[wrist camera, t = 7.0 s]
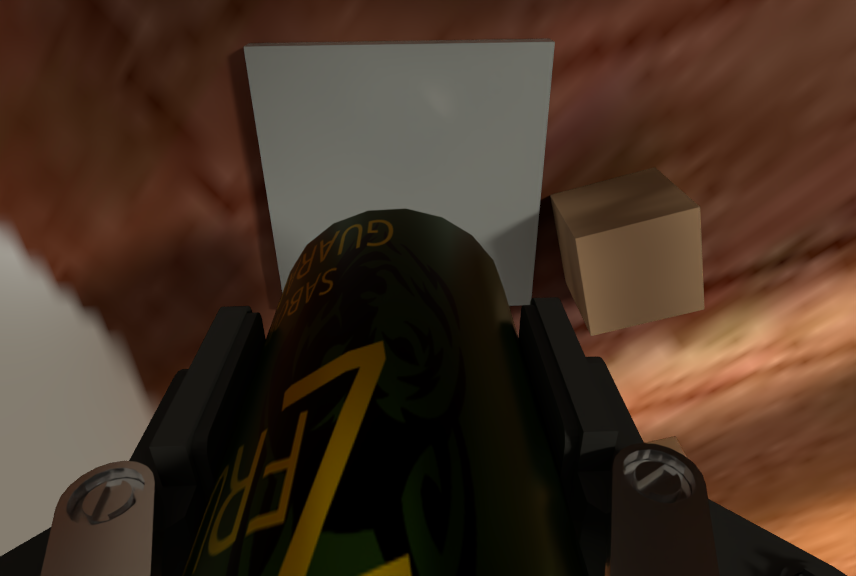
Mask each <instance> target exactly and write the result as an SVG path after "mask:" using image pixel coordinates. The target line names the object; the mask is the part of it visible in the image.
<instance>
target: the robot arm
mask: <svg viewBox="0 0 856 576" xmlns="http://www.w3.org/2000/svg"><path fill="white" fill-rule="evenodd" d="M265 341H266V339H265V334H264V328H263V323H262V318H261V315H260V313H252V310H251V308H250V307H249V306H233V307H221V308H220V309H219V311H218V313H217V315H216V317H215V319H214V321H213V323H212V325H211V327H210V329H209V331H208V333H207V335H206V337H205V339H204V340H203V342H202V344H201V346H200V348H199V350H198V352H197V354H196V356H195V358H194V360H193V362H192V364H191V366H190V368H189V369H182V370H180V371H178V372H177V374H176V375H175V376H174V378H173V380H172V382H171V384H170V386H169V388H168V389H167V391H166V393H165V395H164V397H163V399H162V401H161V402H160V404H159V406H158V408H157V410H156V412H155V414H154V415H153V417H152V419H151V421H150V423H149V425H148V427H147V429H146V430H145V432H144V434H143V436H142V438H141V440H140V442H139V443H138V445H137V447H136V449H135V451H134V453H133V455H132V456H131V458H130V460H129V461H120V462H113V463H109V464H106V465H103V466H100V467H97V468H95V469H93V470H91V471H90V472H88V473H86V474H84V475H82V476H81V477H80V478H78V479H77V480H76V481H75V482H74V483H72V484H71V485H70V486H69V487H68V488H67V489H66V491H65V492H64V493H63V494H62V495H61V497H60V499H59V502H58V504H57V506H56V509H55V513H54V518H53V522H52V527H50V528H49V529H47V530H45V531H43V532H42V533H40V534H38V535H37V536H35V537H33V538H31V539H30V540H28V541H26V542H24V543H23V544H21V545H19V546H18V547H16V548H14V549H12V550H11V551H9V552H7V553H6V554H4V555H2V556H0V576H182V575H183V572H184V569H185V566H186V563H187V561H188V558H189V555H190V552H191V549H192V546H193V544H194V541H195V538H196V535H197V532H198V530H199V527H200V524H201V521H202V518H203V515H204V513H205V510H206V507H207V504H208V501H209V499H210V496H211V493H212V490H213V487H214V484H215V482H216V479H217V476H218V473H219V470H220V468H221V465H222V462H223V459H224V456H225V453H226V451H227V448H228V445H229V442H230V439H231V437H232V434H233V431H234V428H235V425H236V422H237V420H238V417H239V414H240V411H241V408H242V406H243V403H244V400H245V397H246V394H247V391H248V389H249V386H250V383H251V380H252V377H253V375H254V372H255V369H256V366H257V363H258V360H259V358H260V355H261V352H262V349H263V346H264V344H265ZM519 342H520V345H521V348H522V352H523V355H524V359H525V362H526V365H527V369H528V372H529V376H530V379H531V382H532V386H533V389H534V392H535V396H536V399H537V403H538V406H539V409H540V413H541V416H542V420H543V423H544V426H545V430H546V433H547V436H548V440H549V443H550V447H551V450H552V453H553V457H554V460H555V464H556V467H557V470H558V474H559V477H560V480H561V483H562V487H563V490H564V494H565V497H566V500H567V504H568V507H569V510H570V514H571V517H572V521H573V524H574V527H575V531H576V534H577V538H578V541H579V544H580V548H581V551H582V554H583V558H584V561H585V565H586V568H587V571H588V575H589V576H847V575H845V574H844V573H842V572H841V571H839V570H838V569H836V568H835V567H833V566H831V565H829V564H828V563H826V562H824V561H822V560H820V559H818V558H817V557H815V556H813V555H811V554H809V553H807V552H805V551H804V550H802V549H800V548H798V547H796V546H794V545H793V544H791V543H789V542H787V541H785V540H783V539H781V538H780V537H778V536H776V535H774V534H772V533H770V532H768V531H767V530H765V529H763V528H761V527H759V526H757V525H756V524H754V523H752V522H750V521H748V520H746V519H744V518H743V517H741V516H739V515H737V514H735V513H733V512H732V511H730V510H728V509H726V508H724V507H722V506H720V505H719V504H717V503H715V502H713V501H711V500H709V499H708V496H707V490H706V484H705V481H704V478H703V475H702V473H701V472H700V471H699V469H698V468H697V467H696V465H695V464H694V463H693V462H692V461H690V460H689V459H688V458H687V457H685V456H684V455H683V454H681V453H679V452H677V451H675V450H673V449H671V448H669V447H665V446H662V445H658V444H651V443H644V442H643V440H642V438H641V436H640V434H639V432H638V430H637V428H636V426H635V424H634V422H633V420H632V418H631V415H630V413H629V411H628V409H627V407H626V405H625V403H624V401H623V399H622V397H621V395H620V393H619V391H618V389H617V387H616V385H615V383H614V380H613V378H612V376H611V374H610V372H609V370H608V368H607V366H606V364H605V362H604V361H603V359H602V358H601V357H585V355H584V352H583V350H582V348H581V346H580V343H579V341H578V339H577V337H576V334H575V332H574V330H573V328H572V325H571V323H570V321H569V319H568V316H567V314H566V312H565V310H564V307H563V305H562V303H561V301H560V299H559V298H557V297H555V298H532V299H531V302H530V305H523V306H522V308H521V317H520V329H519Z"/></svg>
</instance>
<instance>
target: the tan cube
mask: <svg viewBox="0 0 856 576" xmlns="http://www.w3.org/2000/svg"><path fill="white" fill-rule="evenodd" d="M550 197H551V203H552V209H553V214H554V220H555V225H556V231H557V236H558V242H559V248H560V253H561V259H562V264H563V270H564V275H565V281H566V284H567V286H568V288H569V290H570V292H571V294H572V297H573V299H574V301H575V303H576V305H577V307H578V309H579V311H580V313H581V316H582V318H583V320H584V322H585V324H586V326H587V328H588V330H589V332H590V335H591V336H593V335H597V334H602V333H606V332H610V331H614V330H618V329H623V328H627V327H631V326H635V325H640V324H644V323H648V322H652V321H657V320H661V319H665V318H669V317H673V316H678V315H682V314H686V313H690V312H695V311H699V310H703V309H704V290H703V266H702V242H701V218H700V206H698V205H697V204H696V203H695V202H694V201H693V200H692V199H690V198H689V197H688V196H687V195H686V194H685V193H684V192H682V191H681V190H680V189H679V188H678V187H677V186H676V185H674V184H673V183H672V182H671V181H670V180H669V179H668V178H666V177H665V176H664V175H663V174H662V173H661V172H660V171H658V170H657V169H656V168H651V169H647V170H643V171H640V172H636V173H632V174H628V175H625V176H621V177H617V178H613V179H609V180H606V181H602V182H598V183H594V184H590V185H587V186H583V187H579V188H575V189H572V190H568V191H564V192H560V193H556V194H553V195H550Z"/></svg>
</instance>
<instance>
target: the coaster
mask: <svg viewBox="0 0 856 576" xmlns="http://www.w3.org/2000/svg"><path fill="white" fill-rule="evenodd" d="M554 45H555V42H554V41H553V40H551V39H494V40H429V41H363V42H298V43H249V44H247V45H245V46H244V54H245V60H246V66H247V72H248V79H249V85H250V91H251V98H252V104H253V110H254V117H255V123H256V129H257V136H258V142H259V148H260V155H261V161H262V167H263V174H264V180H265V186H266V193H267V199H268V205H269V212H270V218H271V224H272V231H273V237H274V243H275V250H276V256H277V262H278V269H279V275H280V281H281V288H282V293H283V290H284V287H285V284H286V282H287V279H288V276H289V273H290V271H291V270H292V268H293V266H294V265H295V263H296V261H297V260H298V258H299V256H300V255H301V253H302V251H303V250H304V248H305V247H306V245H307V244H308V243H310V242H311V241H312V240H313V239H315V238H316V237H317V236H318V235H320V234H321V233H322V232H323V231H325V230H326V229H327V228H328V227H330V226H331V225H332V224H333V223H336V222H339V221H341V220H344V219H347V218H349V217H352V216H355V215H357V214H360V213H363V212H365V211H369V210H386V209H404V208H406V209H410V210H415V211H419V212H423V213H427V214H431V215H435V216H439V217H443V218H444V219H446V220H448V221H449V222H451V223H453V224H454V225H456V226H458V227H459V228H461V229H463V230H464V231H466V232H468V233H469V234H471V235H473V237H474V238H475V239H476V240H477V241H478V243H479V244H480V245H481V246H482V247H483V248H484V250H485V251H486V252H487V253H488V254H489V256H490V257H491V258H492V259H493V260H494V263H495V265H496V268H497V271H498V274H499V276H500V279H501V282H502V285H503V288H504V291H505V294H506V297H507V301H508V304H509V306H518V305H530V302H531V297H532V286H533V275H534V264H535V253H536V242H537V231H538V220H539V209H540V198H541V187H542V176H543V165H544V154H545V143H546V132H547V121H548V110H549V99H550V88H551V77H552V66H553V55H554Z"/></svg>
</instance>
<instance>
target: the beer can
mask: <svg viewBox="0 0 856 576" xmlns="http://www.w3.org/2000/svg"><path fill="white" fill-rule="evenodd" d="M182 576H589V575H588V571H587V568H586V565H585V561H584V558H583V554H582V551H581V548H580V544H579V541H578V538H577V534H576V531H575V527H574V524H573V521H572V517H571V514H570V510H569V507H568V504H567V500H566V497H565V494H564V490H563V487H562V483H561V480H560V477H559V474H558V470H557V467H556V464H555V460H554V457H553V453H552V450H551V447H550V443H549V440H548V436H547V433H546V430H545V426H544V423H543V420H542V416H541V413H540V409H539V406H538V403H537V399H536V396H535V392H534V389H533V386H532V382H531V379H530V376H529V372H528V369H527V365H526V362H525V359H524V355H523V352H522V348H521V345H520V342H519V338H518V334H517V331H516V328H515V324H514V321H513V318H512V314H511V311H510V307H509V304H508V301H507V297H506V294H505V291H504V288H503V285H502V282H501V279H500V276H499V274H498V271H497V268H496V265H495V263H494V260H493V259H492V258H491V257H490V256H489V254H488V253H487V252H486V251H485V250H484V248H483V247H482V246H481V245H480V244H479V243H478V241H477V240H476V239H475V238H474V237H473V235H471V234H469V233H468V232H466V231H464V230H463V229H461V228H459V227H458V226H456V225H454V224H453V223H451V222H449V221H448V220H446V219H444V218H443V217H439V216H435V215H431V214H427V213H423V212H419V211H415V210H410V209H406V208H404V209H386V210H369V211H365V212H363V213H360V214H357V215H355V216H352V217H349V218H347V219H344V220H341V221H339V222H336V223H333V224H332V225H331V226H330V227H328V228H327V229H326V230H325V231H323V232H322V233H321V234H320V235H318V236H317V237H316V238H315V239H313V240H312V241H311V242H310V243H308V244H307V245H306V247H305V248H304V250H303V251H302V253H301V255H300V256H299V258H298V260H297V261H296V263H295V265H294V266H293V268H292V270H291V271H290V273H289V276H288V279H287V282H286V284H285V287H284V290H283V293H282V296H281V298H280V301H279V304H278V307H277V310H276V313H275V315H274V318H273V321H272V324H271V327H270V329H269V332H268V335H267V338H266V341H265V344H264V346H263V349H262V352H261V355H260V358H259V360H258V363H257V366H256V369H255V372H254V375H253V377H252V380H251V383H250V386H249V389H248V391H247V394H246V397H245V400H244V403H243V406H242V408H241V411H240V414H239V417H238V420H237V422H236V425H235V428H234V431H233V434H232V437H231V439H230V442H229V445H228V448H227V451H226V453H225V456H224V459H223V462H222V465H221V468H220V470H219V473H218V476H217V479H216V482H215V484H214V487H213V490H212V493H211V496H210V499H209V501H208V504H207V507H206V510H205V513H204V515H203V518H202V521H201V524H200V527H199V530H198V532H197V535H196V538H195V541H194V544H193V546H192V549H191V552H190V555H189V558H188V561H187V563H186V566H185V569H184V572H183V575H182Z"/></svg>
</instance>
